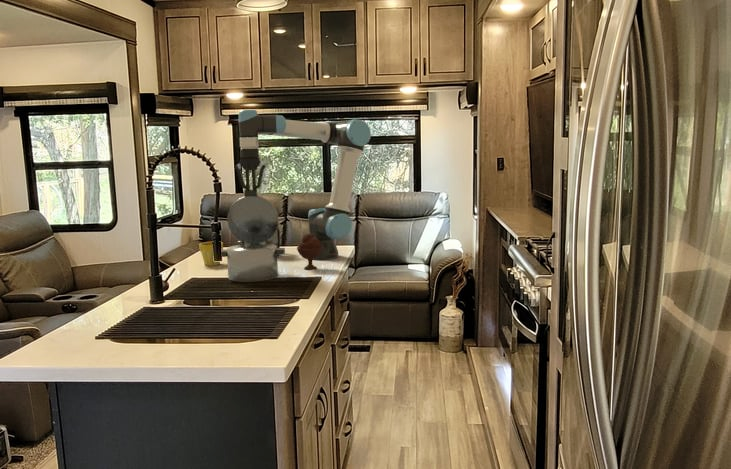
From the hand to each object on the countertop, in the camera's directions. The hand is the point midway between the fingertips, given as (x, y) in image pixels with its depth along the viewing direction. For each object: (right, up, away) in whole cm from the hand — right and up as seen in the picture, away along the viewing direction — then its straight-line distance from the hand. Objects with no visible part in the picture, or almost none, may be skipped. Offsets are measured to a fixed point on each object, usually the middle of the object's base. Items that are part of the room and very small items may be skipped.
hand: (252, 205), depth 256 cm
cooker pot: (+2, -29, -6) cm, 30 cm away
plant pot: (-22, -26, +23) cm, 41 cm away
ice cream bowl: (+24, -27, +7) cm, 37 cm away
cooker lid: (0, -6, -1) cm, 6 cm away
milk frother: (-2, -23, +43) cm, 49 cm away
